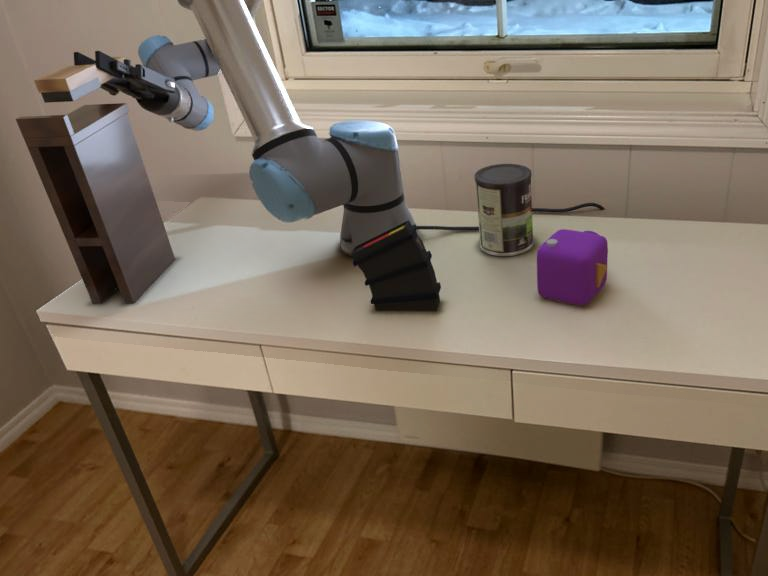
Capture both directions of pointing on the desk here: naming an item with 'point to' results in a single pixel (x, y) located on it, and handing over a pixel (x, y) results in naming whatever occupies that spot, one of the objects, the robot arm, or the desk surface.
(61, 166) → the shelf
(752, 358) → the desk surface
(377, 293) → the magazine
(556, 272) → the toy camera
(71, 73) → the tan block
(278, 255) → the desk surface
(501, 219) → the coffee can
